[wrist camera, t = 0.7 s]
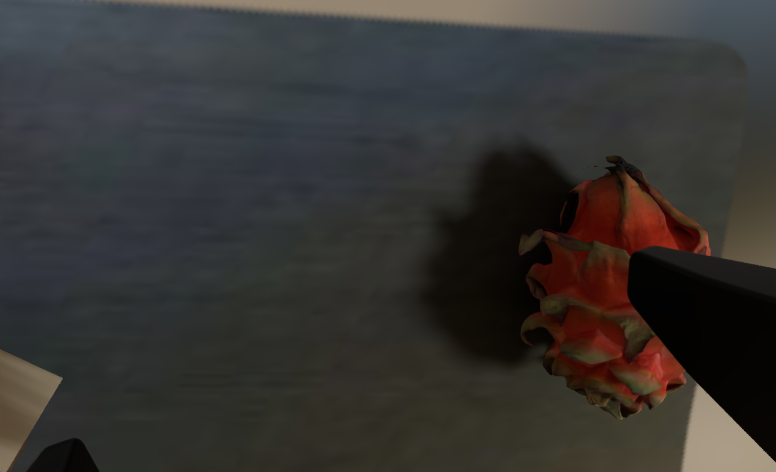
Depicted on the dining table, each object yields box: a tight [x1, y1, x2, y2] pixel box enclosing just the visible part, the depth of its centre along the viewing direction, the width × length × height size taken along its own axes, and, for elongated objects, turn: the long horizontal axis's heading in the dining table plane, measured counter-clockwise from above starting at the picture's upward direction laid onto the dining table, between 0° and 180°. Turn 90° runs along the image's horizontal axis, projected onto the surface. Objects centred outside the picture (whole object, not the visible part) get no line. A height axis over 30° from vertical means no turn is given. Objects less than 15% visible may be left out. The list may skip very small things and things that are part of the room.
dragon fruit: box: [519, 156, 710, 420], centre depth 26 cm, size 8×8×12 cm
